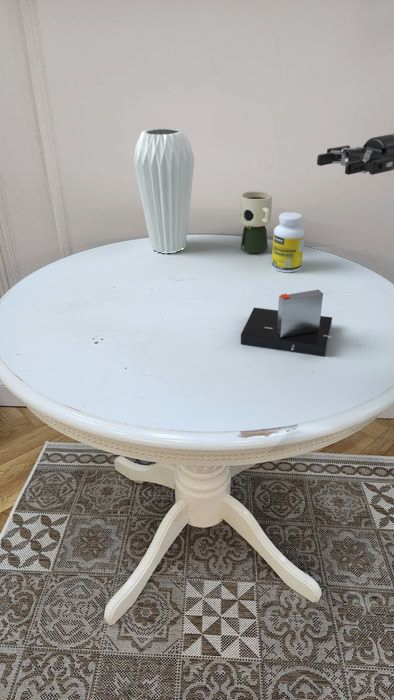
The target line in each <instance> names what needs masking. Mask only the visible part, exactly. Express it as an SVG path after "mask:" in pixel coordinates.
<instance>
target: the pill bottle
mask: <svg viewBox="0 0 394 700" xmlns="http://www.w3.org/2000/svg"><path fill="white" fill-rule="evenodd" d="M278 222H279V224H278V225H276V226H275V228H274V229H273V238H272V239H273V240H272V252H271V253H272V254H271V266H272V269H274V270H276V271H277V272H282V273H295V272H297V271H299V270H300V269H301V268H302V264H303V254H304V245H305V234H306V232H305V229H304V227H302V226H301V224H302V223H303V215H302V214H301V213H298V212H292V211H287V212H282V213H279V215H278Z"/></svg>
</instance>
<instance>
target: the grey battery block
mask: <svg viewBox="0 0 394 700" xmlns="http://www.w3.org/2000/svg"><path fill="white" fill-rule="evenodd" d="M323 298H324V293H323V292H322V291H321V290H320V289H314V290H307V291H300V292H295V293H289V294H287V293H283V294H280V295H279V296H278V308H277V310H278V321H277V335H278V336H279V337H280V338H284V337H289V336H295V335H300V334H306V333H311V332H317V331H319V325H320V316H322V308H323V307H322V306H323Z"/></svg>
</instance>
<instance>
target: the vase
mask: <svg viewBox="0 0 394 700" xmlns="http://www.w3.org/2000/svg"><path fill="white" fill-rule="evenodd" d="M134 149H135V150H134V157H133V165H134V170H135V171H134V172H135V175H136V181H137V186H138V189H139V195H140V200H141V205H142V209H143V210H142V211H143V214H144V218H145V219H144V220H145V224H146V228H147V233H148V239H149V243H150V247H151V249H152V248H153V250H156V251H161V252H164V251H165V252H166V253H167V252H169V251H170V252H173V251H177V250H181V248H184V246H187V245H186V244H187V237H188V226H189V218H190V217H189V216H190V206H191V196H192V188H193V187H192V186H193V177H194V169H195V167H194V166H195V165H194V164H195V157H194V156H195V155H194V152H193V149H192V145H191V142H190V140H189V138H188V137H187V135H186V134H185V132H184V130H183V129H181V128H176V127H175V128H172V127H157V128H149V129H146V130H143V131H141V133H140V135H139V138H138V139H137V142H136V144H135V148H134ZM153 250H152V251H153Z"/></svg>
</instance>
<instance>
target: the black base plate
mask: <svg viewBox="0 0 394 700" xmlns="http://www.w3.org/2000/svg"><path fill="white" fill-rule="evenodd" d="M277 321H278V309H269V308H261V307H255V306H254V307H253V309H252V310H251V312H250V315H249V316H248V319H247V320H246V323H245V325H244V326H243V329H242V331H241V333H240V345H245V346H251V347H257V348H264V349H271V350H278V351H284V352H285V351H286V352H292V353H299V354H305V355H313V356H320V357H326V353H327V348H328V343H329V339H332V338H333V335H331V330H332V324H333V317H331V316H326V315H325V316H324V315H321V316H320V325H319V331H317V332H311V333H306V334H300V335H295V336H289V337H284V338H280V337H279V336H278V335H277Z"/></svg>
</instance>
